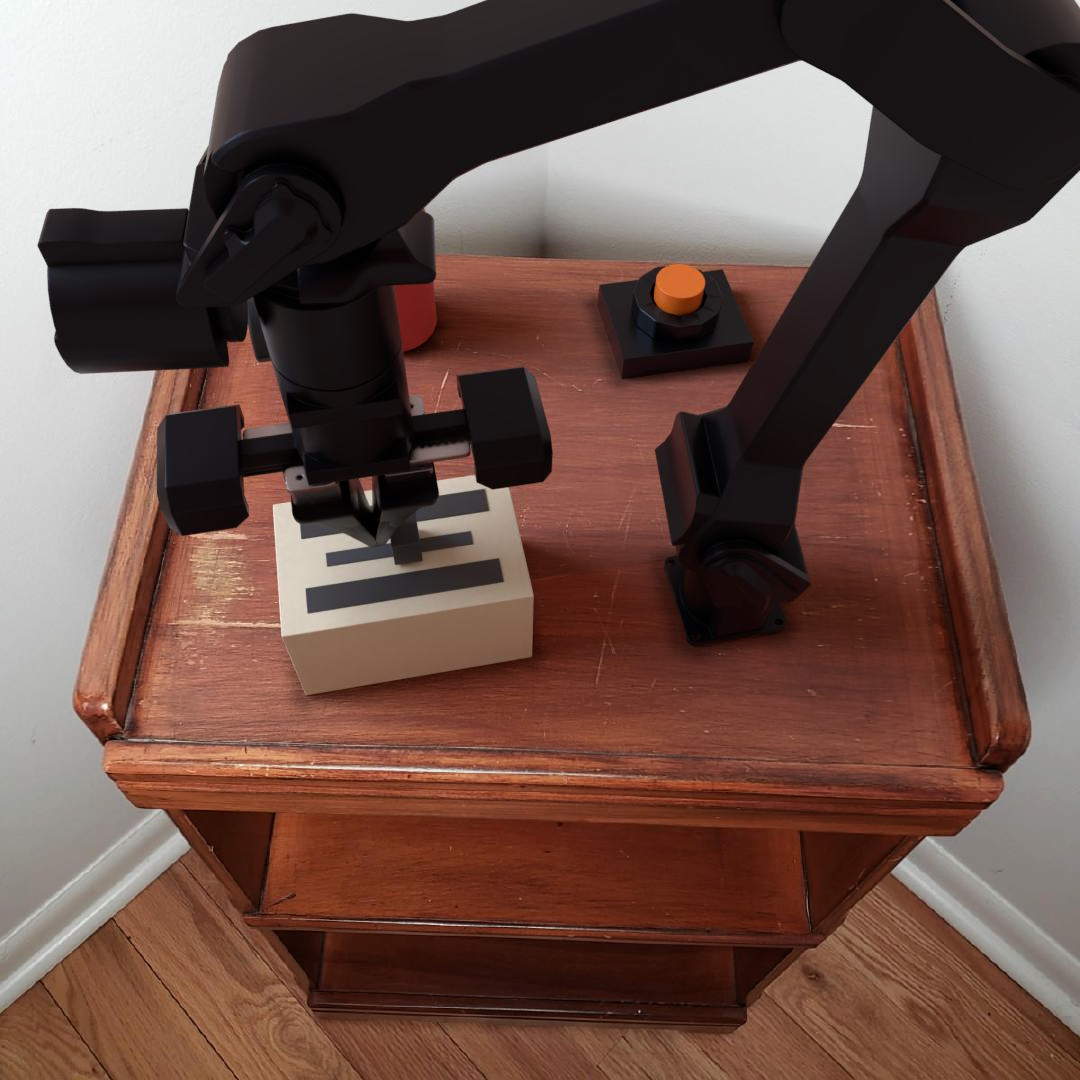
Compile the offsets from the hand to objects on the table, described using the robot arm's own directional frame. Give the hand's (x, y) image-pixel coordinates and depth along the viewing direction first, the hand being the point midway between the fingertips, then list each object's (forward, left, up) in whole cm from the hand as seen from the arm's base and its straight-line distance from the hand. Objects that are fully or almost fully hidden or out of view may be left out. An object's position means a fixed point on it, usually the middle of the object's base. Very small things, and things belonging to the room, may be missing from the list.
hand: (377, 539), depth 57 cm
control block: (+21, -24, -9) cm, 33 cm away
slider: (0, -2, -1) cm, 2 cm away
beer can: (+26, -3, -9) cm, 27 cm away
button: (+21, -24, -5) cm, 32 cm away
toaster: (0, -1, -9) cm, 9 cm away
